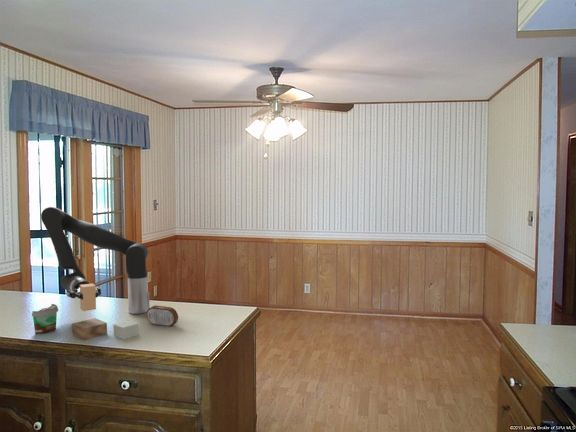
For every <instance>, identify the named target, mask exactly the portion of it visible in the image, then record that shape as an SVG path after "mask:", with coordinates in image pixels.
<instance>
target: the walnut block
mask: <svg viewBox="0 0 576 432" xmlns="http://www.w3.org/2000/svg"><path fill="white" fill-rule="evenodd" d="M71 327H72V328H71V330H72V332H71V333H72V336H74V337H76V338H78V339H80V340H81V341H85V340H90V339H94V338H97V337H101V336H104V335H105V336H106V335H107V334H108V323H107V322H105V321H102V320H100V319H99V318H96V317H94V318H90V319H87V320H82V321H78V322H73V323H72V324H71Z"/></svg>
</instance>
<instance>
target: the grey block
mask: <svg viewBox="0 0 576 432" xmlns="http://www.w3.org/2000/svg"><path fill="white" fill-rule="evenodd" d="M138 335H139V323H138V322H135V321H132V320H125V321H124V320H123V321H120V322H117V323H114V324H113V336H114V337H116V338H119V339H121V340H126V339H129V338H133V337H135V336H138Z"/></svg>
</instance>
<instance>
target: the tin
mask: <svg viewBox="0 0 576 432" xmlns="http://www.w3.org/2000/svg"><path fill="white" fill-rule="evenodd" d="M146 318H147V320H148V322H149V323H150V324H152V325H155V326H163V327H173V325H176V324H177V323H178V320H179V314H178V312H177V310H176V309H175V308H173V307H171V306H162V305H158V304H157V305H152V306H151V307H150V308H149V309H148V311H147V312H146Z"/></svg>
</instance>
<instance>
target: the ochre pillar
mask: <svg viewBox="0 0 576 432" xmlns="http://www.w3.org/2000/svg"><path fill="white" fill-rule="evenodd" d="M96 288H97V286H96V285H95V284H94V283H90V284H83V285H80V292H81V293H82V294H83V299H82V300H81V299H80V300H79V301H80V303H79V305H80V310H81V311H82V312H86V311H87V312H88V311H94V310H97V297H96Z"/></svg>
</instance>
